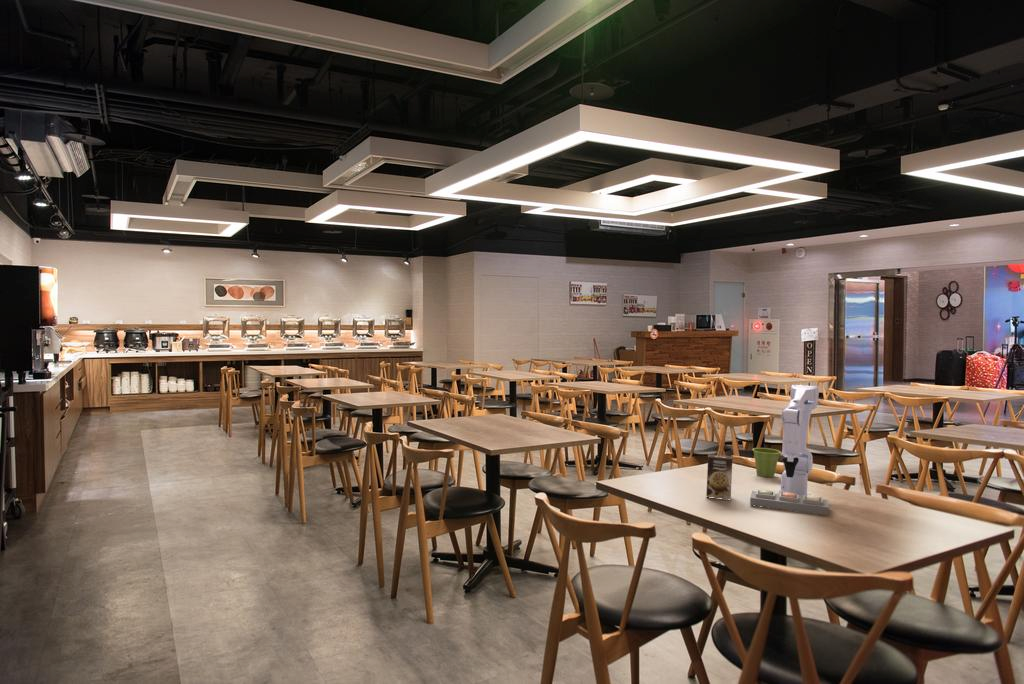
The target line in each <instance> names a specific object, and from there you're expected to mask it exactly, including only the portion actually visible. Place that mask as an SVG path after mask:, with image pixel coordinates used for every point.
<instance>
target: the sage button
mask: <svg viewBox="0 0 1024 684" xmlns="http://www.w3.org/2000/svg"><path fill="white" fill-rule="evenodd" d="M758 490H759V494H766V495H772V491H773V490H770V489H769V490H768V489H758Z"/></svg>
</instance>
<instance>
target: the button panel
mask: <svg viewBox="0 0 1024 684" xmlns="http://www.w3.org/2000/svg"><path fill="white" fill-rule="evenodd" d="M759 490H760V489H756V490H751V494H750V497H749V498H750V499H749V506H750V505H755V506H762V507H761V508H763V507H769V508H768V509H771V508H776V509H775V510H778V509H782V510H781V511H786V510H791V511H790V512H794V511H798V512H797V513H802V512H805V513H804V514H809V513H812V514H811V515H817V514H821V515H820V516H825V515H828V516H827V517H829V515H830V506H829V501H828V500H829V499H825V498H823V497H822V496H819V497H820V501H816V500H807V499H806V495H803V497H800V496H798V494H795V495H796V497H795V498H791V497H782V495H783V493H782V492H779V493H776V491H773V490H771V491H772V495H766V494H759ZM755 506H754V507H755Z"/></svg>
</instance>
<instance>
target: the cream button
mask: <svg viewBox="0 0 1024 684" xmlns="http://www.w3.org/2000/svg"><path fill="white" fill-rule="evenodd" d="M820 497H821V496H817V495H812V494H811V495H807V496H806V499H807V500H816V501H820Z"/></svg>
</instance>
